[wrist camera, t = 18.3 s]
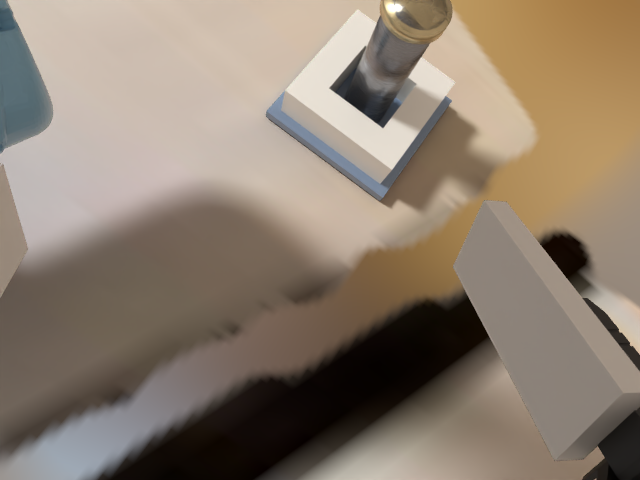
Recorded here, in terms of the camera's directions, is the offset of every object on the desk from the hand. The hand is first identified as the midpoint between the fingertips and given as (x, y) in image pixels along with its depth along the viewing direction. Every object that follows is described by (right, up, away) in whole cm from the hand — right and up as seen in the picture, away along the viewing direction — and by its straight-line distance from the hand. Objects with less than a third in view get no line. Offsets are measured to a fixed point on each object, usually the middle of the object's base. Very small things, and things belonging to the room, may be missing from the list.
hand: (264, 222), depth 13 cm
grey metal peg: (+6, +13, +33) cm, 36 cm away
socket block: (+6, +13, +34) cm, 37 cm away
